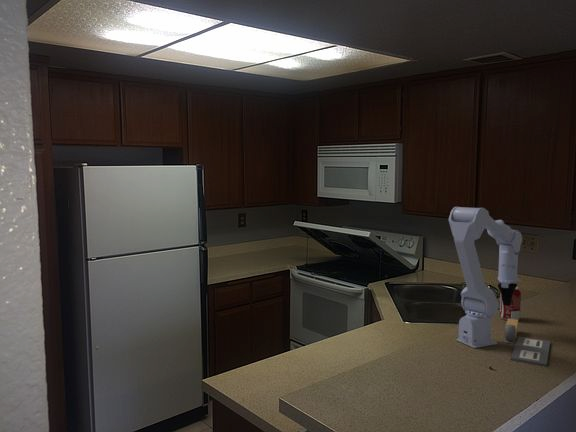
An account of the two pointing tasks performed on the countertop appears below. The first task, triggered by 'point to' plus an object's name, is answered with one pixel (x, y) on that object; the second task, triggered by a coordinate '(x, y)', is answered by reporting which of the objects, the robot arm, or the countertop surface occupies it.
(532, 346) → the label plate
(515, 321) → the bar
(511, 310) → the soda can
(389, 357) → the countertop surface
